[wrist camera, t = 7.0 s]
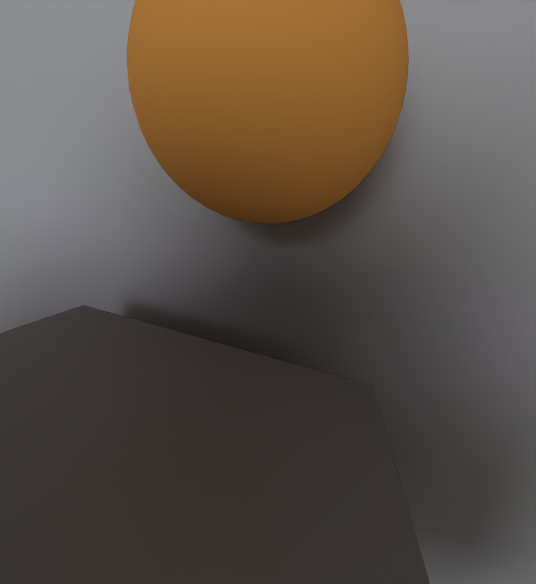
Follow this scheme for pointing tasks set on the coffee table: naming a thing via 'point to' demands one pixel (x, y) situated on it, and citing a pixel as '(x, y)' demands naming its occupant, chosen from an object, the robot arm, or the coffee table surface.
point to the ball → (267, 98)
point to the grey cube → (189, 464)
